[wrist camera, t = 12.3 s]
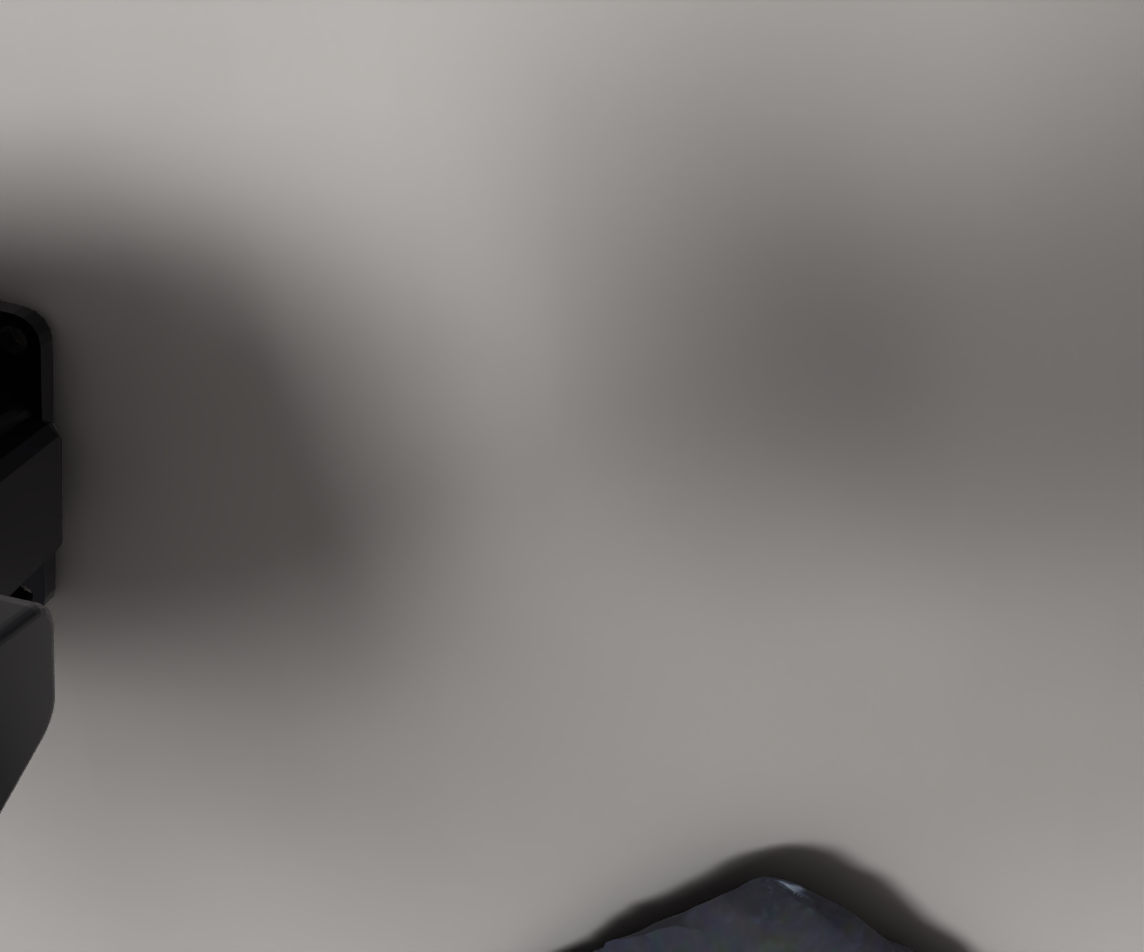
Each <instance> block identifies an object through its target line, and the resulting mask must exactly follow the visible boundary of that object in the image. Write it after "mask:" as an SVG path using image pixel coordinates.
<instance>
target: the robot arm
mask: <svg viewBox="0 0 1144 952" xmlns="http://www.w3.org/2000/svg"><path fill="white" fill-rule="evenodd" d="M12 326H13V327H15V328H17V329H19V330H20V331H21V332H22V333H23V334H24V335H25V337H26V340H27V346H25V345H22V344H20V343H18V341H17V340H16V339H15V338H14V337H13V334H12V331H11V328H12ZM61 544H62V438H61V435H60V434H59V432H58V430H57V428H56V426H55V425H54V424H53V350H52V335H51V330H50V328H49V326H48V324H47V323H46V321H45V319H44V318H43V317H41V316H40V315H39V314H38V313H37V312H36V311H34V310H31V309H29V308H26V307H24V306H19V305H15V304H11V303H6V302H2V301H0V813H1V811H2V809H3V808H4V806H5V804H6V802H7V801H8V799H9V797H10V795H11V793H12V792H13V790H14V788H15V786H16V784H17V783H18V781H19V779H20V777H21V776H22V774H23V772H24V770H25V768H26V767H27V765H28V763H29V761H30V760H31V758H32V756H33V754H34V752H35V751H36V749H37V747H38V745H39V743H40V742H41V740H42V738H43V736H44V734H45V732H46V730H47V728H48V725H49V723H50V720H51V716H52V713H53V708H54V702H55V675H54V626H53V619H52V616H51V614H50V611H49V610H48V609H47V608H46V607H45V606H44V605H45V604H46V603H47V602H48V601H49V600H50V599H51V598H52V597H53V596H54V592H55V551H56V550H57V549H58V548H59V547H60V546H61ZM21 584H24V585H26V586H28V588H29V589H30V590H31V591H32V593H30V592H28V591H25V590H24V589H23V588H22V587H21Z"/></svg>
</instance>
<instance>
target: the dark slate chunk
mask: <svg viewBox="0 0 1144 952" xmlns="http://www.w3.org/2000/svg"><path fill="white" fill-rule="evenodd" d="M593 952H914V951H912V950H911V949H909V948H907V947H905V946H903V945H901V944H898V943H895V942H892V941H889V940H887V939H885V938H884V937H882V936H881V935H880V934H879V933H878V932H876V931H875V930H874V929H873V928H871V927H870V926H869V925H867V924H866V923H865V922H864V921H862V920H861V919H860V918H859V917H858V916H856V915H855V914H854V913H852V912H851V911H849V910H848V909H846V908H844V907H843V906H841V905H839V904H837V903H834V902H832V901H831V900H829V899H827V898H824V897H822V896H820V895H818V894H816V893H814V892H812V891H810V890H808V889H806V888H804V887H802V886H800V885H798V884H796V883H794V882H791V881H788V880H785V879H780V878H774V877H768V876H764V877H759V878H756V879H753V880H750V881H748V882H746V883H745V884H743V885H741V886H740V887H738V888H736V889H734V890H732V891H729V892H727V893H724V894H722V895H720V896H717V897H715V898H714V899H712V900H710V901H707V902H704V903H702V904H699V905H697V906H695V907H693V908H691V909H689V910H687V911H686V912H683V913H680V914H677V915H674V916H671V917H668V918H665V919H663V920H660V921H658V922H656V923H654V924H652V925H650V926H648V927H647V928H645V929H643V930H641V931H639V932H636V933H634V934H631V935H628V936H625V937H621V938H618V939H614V940H611V941H608V942H606V943H605V945H604V947H602V948H600V949H597V950H595V951H593Z"/></svg>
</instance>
